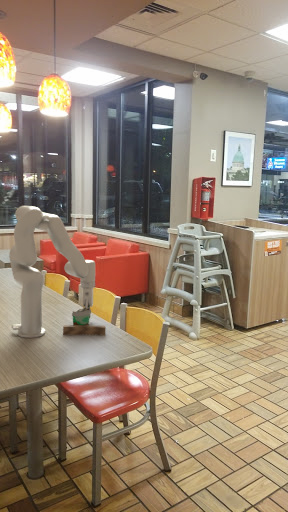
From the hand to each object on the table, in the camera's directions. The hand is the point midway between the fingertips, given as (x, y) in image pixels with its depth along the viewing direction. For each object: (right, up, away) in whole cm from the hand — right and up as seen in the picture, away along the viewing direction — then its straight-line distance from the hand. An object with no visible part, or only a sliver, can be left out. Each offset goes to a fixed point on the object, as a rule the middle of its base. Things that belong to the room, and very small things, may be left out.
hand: (87, 317), depth 206 cm
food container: (0, -4, -10) cm, 11 cm away
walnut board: (+1, -5, -17) cm, 18 cm away
